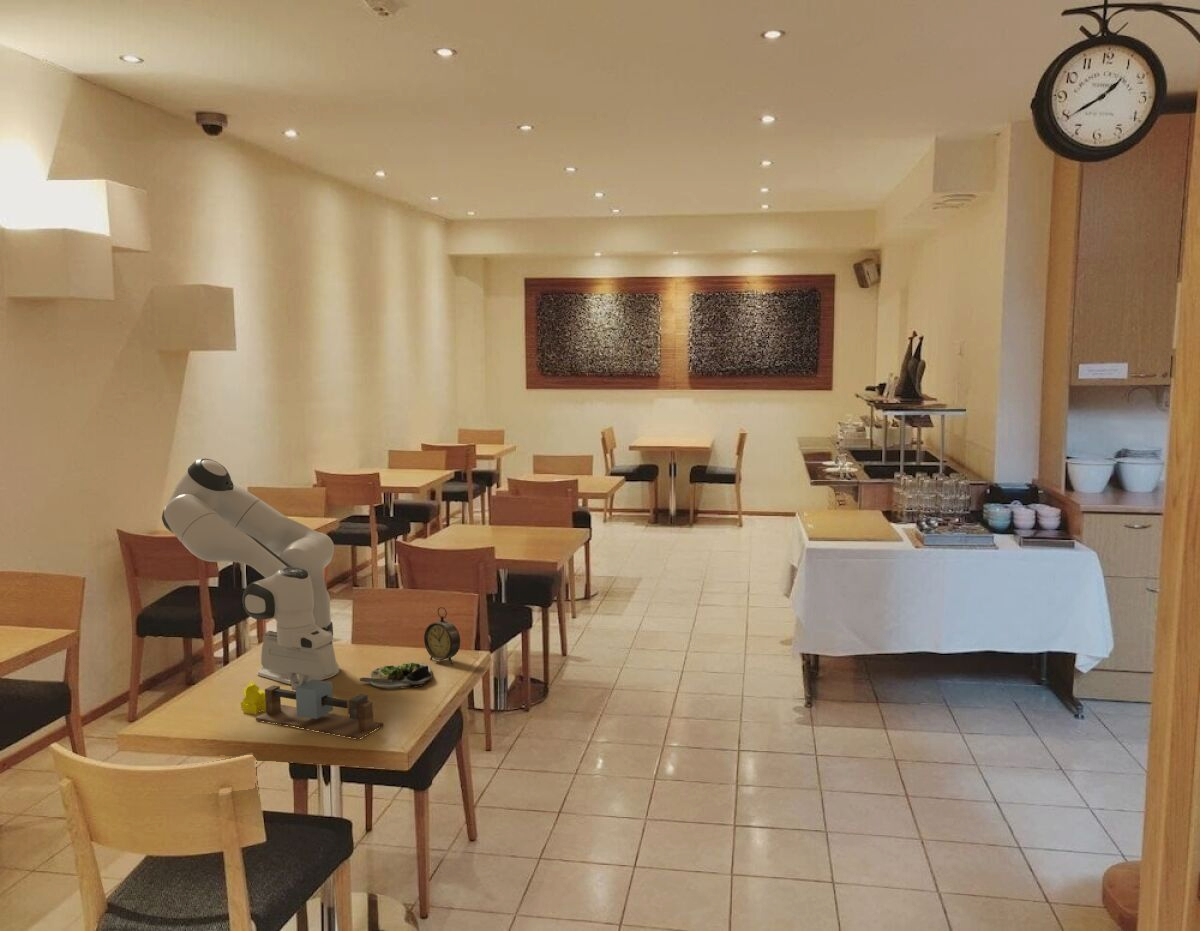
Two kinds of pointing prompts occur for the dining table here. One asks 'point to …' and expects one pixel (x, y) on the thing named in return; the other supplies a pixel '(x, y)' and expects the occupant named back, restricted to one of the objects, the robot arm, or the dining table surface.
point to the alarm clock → (442, 639)
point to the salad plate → (400, 676)
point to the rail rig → (341, 725)
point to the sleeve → (313, 698)
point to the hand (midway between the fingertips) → (298, 689)
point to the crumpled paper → (253, 699)
